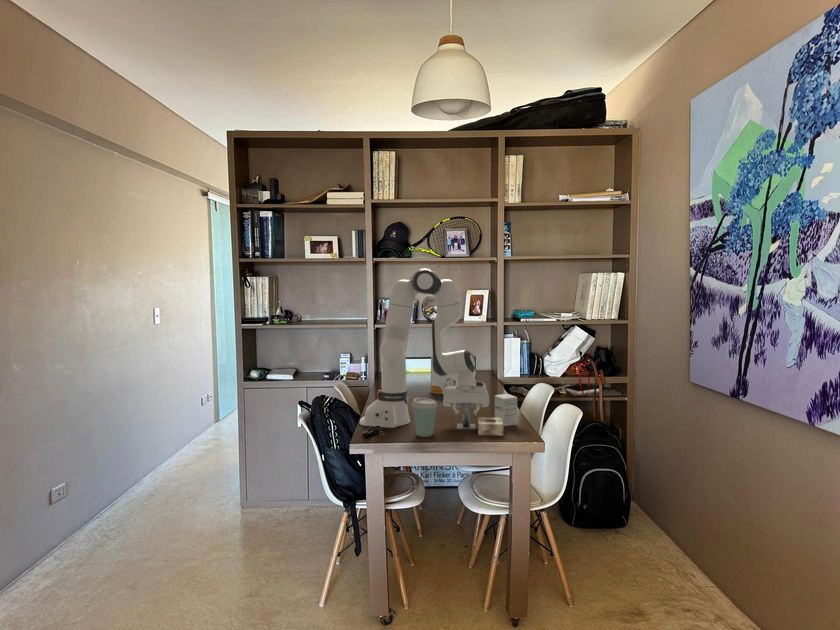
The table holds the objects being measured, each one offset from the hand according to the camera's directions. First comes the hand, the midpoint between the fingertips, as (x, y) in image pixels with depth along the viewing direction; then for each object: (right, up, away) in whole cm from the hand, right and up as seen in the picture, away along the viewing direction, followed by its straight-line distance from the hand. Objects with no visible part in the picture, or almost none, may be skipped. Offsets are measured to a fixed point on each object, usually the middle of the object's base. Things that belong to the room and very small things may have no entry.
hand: (466, 414), depth 229 cm
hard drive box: (-6, -1, +68) cm, 68 cm away
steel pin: (0, -5, +1) cm, 5 cm away
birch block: (+9, -6, -7) cm, 13 cm away
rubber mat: (0, -6, +1) cm, 6 cm away
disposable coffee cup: (-18, -7, -11) cm, 22 cm away
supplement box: (+18, -6, +6) cm, 20 cm away
